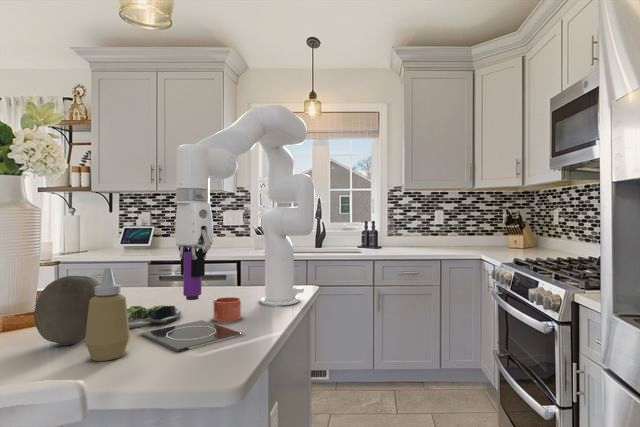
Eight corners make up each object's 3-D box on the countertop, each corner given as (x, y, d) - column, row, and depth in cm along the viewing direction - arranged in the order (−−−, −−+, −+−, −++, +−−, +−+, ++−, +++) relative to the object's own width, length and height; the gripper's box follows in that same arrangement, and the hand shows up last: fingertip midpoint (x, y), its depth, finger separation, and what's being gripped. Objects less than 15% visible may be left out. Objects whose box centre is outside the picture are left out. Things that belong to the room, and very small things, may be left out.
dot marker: (195, 296, 96) (195, 251, 96) (204, 298, 93) (204, 252, 94) (180, 299, 93) (180, 252, 93) (188, 301, 91) (188, 253, 91)
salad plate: (91, 333, 97) (91, 314, 97) (111, 315, 114) (111, 299, 115) (175, 327, 102) (175, 309, 102) (182, 311, 119) (182, 296, 119)
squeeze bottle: (138, 352, 83) (138, 266, 83) (106, 366, 76) (106, 271, 76) (109, 348, 86) (109, 264, 86) (74, 361, 78) (75, 269, 78)
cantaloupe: (89, 351, 84) (89, 280, 84) (18, 353, 83) (18, 281, 83) (118, 332, 98) (118, 271, 98) (58, 334, 97) (58, 272, 97)
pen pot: (230, 315, 115) (230, 296, 115) (246, 319, 110) (246, 299, 110) (208, 320, 109) (208, 300, 109) (223, 325, 104) (223, 303, 104)
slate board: (201, 322, 107) (201, 319, 107) (241, 335, 95) (241, 332, 95) (141, 335, 96) (141, 332, 96) (178, 352, 83) (178, 348, 83)
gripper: (226, 196, 91) (226, 277, 90) (189, 199, 102) (189, 271, 102) (196, 195, 85) (196, 281, 85) (161, 198, 97) (160, 274, 96)
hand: (192, 274), depth 93 cm, fingers closed on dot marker, 4 cm apart
